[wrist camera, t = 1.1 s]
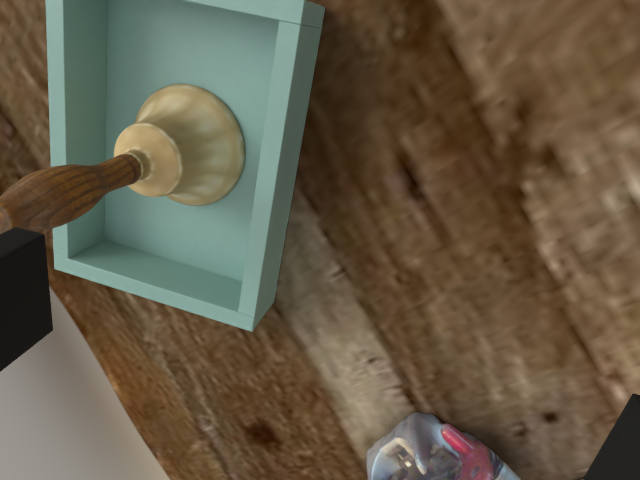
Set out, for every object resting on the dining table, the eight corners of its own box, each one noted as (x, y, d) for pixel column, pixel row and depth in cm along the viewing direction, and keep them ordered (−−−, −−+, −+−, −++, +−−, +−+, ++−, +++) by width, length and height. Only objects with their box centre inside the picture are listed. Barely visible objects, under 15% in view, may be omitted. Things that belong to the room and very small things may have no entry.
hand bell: (239, 81, 31) (53, 105, 17) (251, 206, 34) (101, 318, 20) (126, 85, 33) (-126, 109, 19) (146, 203, 36) (-60, 302, 22)
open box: (95, -39, 31) (43, -52, 27) (325, 7, 29) (304, -1, 25) (94, 247, 39) (53, 269, 35) (274, 302, 37) (252, 332, 33)
